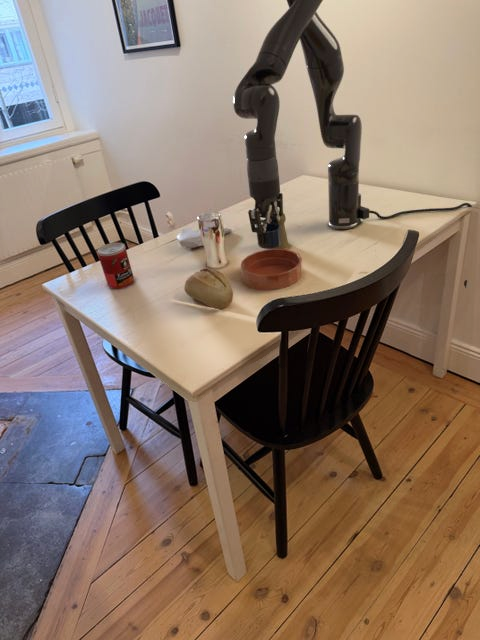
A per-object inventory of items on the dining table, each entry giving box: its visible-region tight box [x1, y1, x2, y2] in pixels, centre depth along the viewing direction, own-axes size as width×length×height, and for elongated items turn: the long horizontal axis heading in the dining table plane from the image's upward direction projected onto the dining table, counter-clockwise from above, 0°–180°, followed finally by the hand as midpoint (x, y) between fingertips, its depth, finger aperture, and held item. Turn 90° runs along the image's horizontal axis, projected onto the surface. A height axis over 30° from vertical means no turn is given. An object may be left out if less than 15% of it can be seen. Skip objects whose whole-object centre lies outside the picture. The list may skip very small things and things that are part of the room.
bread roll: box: [184, 267, 234, 310], centre depth 118 cm, size 10×15×8 cm, turn 46°
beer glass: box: [197, 211, 228, 269], centre depth 134 cm, size 7×7×15 cm
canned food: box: [97, 242, 135, 290], centre depth 132 cm, size 8×8×11 cm
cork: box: [269, 212, 289, 249], centre depth 140 cm, size 6×6×11 cm
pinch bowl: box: [256, 223, 282, 250], centre depth 121 cm, size 6×6×5 cm
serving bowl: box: [240, 248, 304, 291], centre depth 126 cm, size 16×16×5 cm
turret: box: [176, 227, 232, 249], centre depth 153 cm, size 10×20×5 cm, turn 136°
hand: (269, 239), depth 121 cm, fingers closed on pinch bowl, 6 cm apart
